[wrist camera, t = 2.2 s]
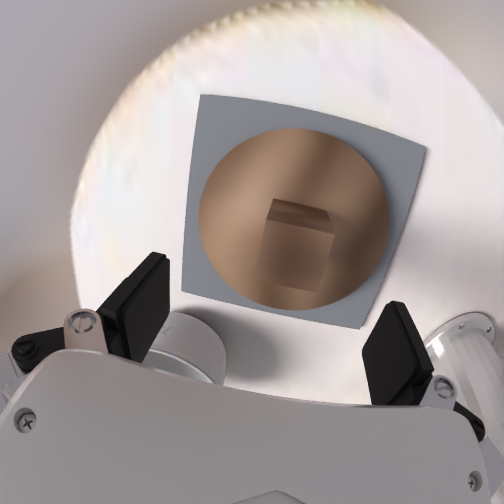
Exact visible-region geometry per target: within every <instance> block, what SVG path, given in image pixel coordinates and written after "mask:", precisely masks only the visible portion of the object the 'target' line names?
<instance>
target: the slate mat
mask: <svg viewBox="0 0 504 504" xmlns="http://www.w3.org/2000/svg"><path fill="white" fill-rule="evenodd" d="M286 128H300V129H308V130H314V131H318V132H321V133H325V134H328V135H330V136H332V137H335V138H337V139H339V140H341V141H343V142H344V143H346V144H347V145H349V146H350V147H352V148H353V149H354V150H356V151H357V152H358V153H359V154H360V155H361V156H362V157H363V158H364V159H365V160H366V161H367V162H368V163H369V165H370V166H371V167H372V168H373V170H374V171H375V173H376V175H377V176H378V178H379V180H380V182H381V184H382V186H383V189H384V191H385V195H386V198H387V202H388V208H389V233H388V240H387V243H386V246H385V250H384V252H383V255H382V257H381V259H380V261H379V263H378V265H377V266H376V268H375V270H374V271H373V272H372V274H371V275H370V276H369V277H368V279H367V280H366V281H365V282H364V283H363V284H362V285H361V286H360V287H359V288H357V289H356V290H355V291H353V292H352V293H351V294H349V295H348V296H346V297H344V298H342V299H341V300H339V301H336V302H334V303H332V304H330V305H326V306H323V307H320V308H315V309H309V310H297V311H296V310H282V309H275V308H271V307H268V306H264V305H261V304H259V303H256V302H254V301H252V300H250V299H248V298H246V297H244V296H243V295H241V294H240V293H238V292H237V291H235V290H234V289H233V288H232V287H230V286H229V285H228V284H227V283H226V282H225V281H224V280H223V279H222V278H221V277H220V276H219V274H218V273H217V272H216V270H215V269H214V267H213V266H212V264H211V263H210V261H209V259H208V257H207V255H206V253H205V250H204V247H203V245H202V241H201V237H200V232H199V223H198V218H199V205H200V200H201V196H202V192H203V189H204V186H205V184H206V182H207V180H208V178H209V176H210V174H211V173H212V171H213V170H214V168H215V167H216V165H217V164H218V163H219V162H220V161H221V159H222V158H223V157H224V156H225V155H226V154H227V153H228V152H230V151H231V150H232V149H233V148H235V147H236V146H237V145H239V144H240V143H242V142H244V141H245V140H247V139H249V138H251V137H254V136H256V135H258V134H261V133H265V132H268V131H272V130H278V129H286ZM425 149H426V147H424V146H422V145H420V144H417V143H415V142H412V141H410V140H407V139H405V138H402V137H399V136H396V135H394V134H391V133H388V132H385V131H382V130H379V129H376V128H373V127H370V126H367V125H364V124H361V123H357V122H354V121H351V120H347V119H343V118H340V117H336V116H332V115H328V114H324V113H320V112H316V111H312V110H307V109H303V108H298V107H293V106H288V105H282V104H277V103H271V102H265V101H258V100H252V99H244V98H236V97H227V96H216V95H204V94H201V95H200V101H199V107H198V114H197V120H196V127H195V134H194V141H193V149H192V157H191V166H190V174H189V184H188V194H187V205H186V217H185V230H184V245H183V263H182V287H181V291H183V292H187V293H191V294H195V295H198V296H202V297H206V298H210V299H214V300H218V301H222V302H226V303H231V304H235V305H239V306H243V307H248V308H252V309H256V310H261V311H265V312H270V313H275V314H279V315H284V316H289V317H294V318H299V319H304V320H309V321H314V322H319V323H325V324H330V325H336V326H341V327H347V328H353V329H359V330H360V328H361V326H362V324H363V322H364V320H365V318H366V316H367V314H368V312H369V310H370V308H371V305H372V303H373V301H374V299H375V297H376V294H377V292H378V290H379V288H380V285H381V283H382V281H383V278H384V276H385V274H386V271H387V269H388V266H389V264H390V261H391V259H392V256H393V254H394V251H395V248H396V246H397V243H398V240H399V238H400V235H401V232H402V229H403V226H404V223H405V220H406V217H407V214H408V211H409V208H410V205H411V201H412V198H413V195H414V191H415V188H416V184H417V181H418V177H419V173H420V169H421V166H422V161H423V157H424V153H425Z"/></svg>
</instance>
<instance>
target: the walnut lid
mask: <svg viewBox="0 0 504 504" xmlns="http://www.w3.org/2000/svg"><path fill="white" fill-rule="evenodd" d="M198 223H199V232H200V237H201V241H202V245H203V247H204V250H205V253H206V255H207V257H208V259H209V261H210V263H211V264H212V266H213V267H214V269H215V270H216V272H217V273H218V274H219V276H220V277H221V278H222V279H223V280H224V281H225V282H226V283H227V284H228V285H229V286H230V287H232V288H233V289H234V290H235V291H237V292H238V293H240V294H241V295H243V296H244V297H246V298H248V299H250V300H252V301H254V302H256V303H259V304H261V305H264V306H268V307H271V308H275V309H282V310H296V311H297V310H309V309H315V308H320V307H323V306H326V305H330V304H332V303H334V302H336V301H339V300H341V299H342V298H344V297H346V296H348V295H349V294H351V293H352V292H353V291H355V290H356V289H357V288H359V287H360V286H361V285H362V284H363V283H364V282H365V281H366V280H367V279H368V277H369V276H370V275H371V274H372V272H373V271H374V270H375V268H376V266H377V265H378V263H379V261H380V259H381V257H382V255H383V252H384V250H385V246H386V243H387V240H388V233H389V208H388V202H387V198H386V195H385V191H384V189H383V186H382V184H381V182H380V180H379V178H378V176H377V175H376V173H375V171H374V170H373V168H372V167H371V166H370V165H369V163H368V162H367V161H366V160H365V159H364V158H363V157H362V156H361V155H360V154H359V153H358V152H357V151H356V150H354V149H353V148H352V147H350V146H349V145H347V144H346V143H344V142H343V141H341V140H339V139H337V138H335V137H332V136H330V135H328V134H325V133H321V132H318V131H314V130H308V129H300V128H286V129H278V130H272V131H268V132H265V133H261V134H258V135H256V136H254V137H251V138H249V139H247V140H245V141H244V142H242V143H240V144H239V145H237V146H236V147H235V148H233V149H232V150H231V151H230V152H228V153H227V154H226V155H225V156H224V157H223V158H222V159H221V161H220V162H219V163H218V164H217V165H216V167H215V168H214V170H213V171H212V173H211V174H210V176H209V178H208V180H207V182H206V184H205V186H204V189H203V192H202V196H201V200H200V205H199V218H198Z"/></svg>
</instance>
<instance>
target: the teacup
mask: <svg viewBox="0 0 504 504" xmlns="http://www.w3.org/2000/svg"><path fill="white" fill-rule="evenodd" d="M226 363H227V356H226V350H225V347H224V344H223V342H222V341H221V339H220V337H219V336H218V335H217V333H216V332H215V331H214V330H213V329H212V328H211V327H209V326H208V325H207V324H206V323H204V322H202V321H201V320H199V319H197V318H195V317H193V316H190V315H187V314H184V313H179V312H169V315H168V318H167V319H166V321H165V323H164V325H163V326H162V328H161V330H160V332H159V333H158V335H157V337H156V339H155V340H154V342H153V344H152V346H151V347H150V349H149V351H148V353H147V355H146V356H145V358H144V360H143V362H142V364H145V365H148V366H151V367H154V368H157V369H161V370H164V371H168V372H171V373H175V374H178V375H182V376H185V377H189V378H193V379H196V380H200V381H204V382H208V383H212V384H217V385H221V386H223V383H224V378H225V372H226Z"/></svg>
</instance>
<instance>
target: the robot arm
mask: <svg viewBox="0 0 504 504" xmlns="http://www.w3.org/2000/svg"><path fill="white" fill-rule="evenodd" d="M169 312H170V260H169V259H167V258H166V255H165V254H161V253H157V252H151V253H150V254H149V255H148V256H147V258H146V259H145V260H144V261H143V262H142V263H141V264H140V265H139V266H138V267H137V268H136V269H135V270H134V271H133V272H132V273H131V274H130V276H129V277H127V278H125V279H124V280H123V281H122V283H121V284H120V285H119V286H118V287H117V288H116V289H115V290H114V291H113V292H112V294H111V295H110V296H109V297H108V298H107V299H106V300H105V301H104V303H103V304H102V305H101V306H100V307H99V308H98V309H97V311H96V312H95V311H93V310H91V309H78V310H75V311H73V312H71V313H70V314H69V315H68V316H67V317H66V318H65V320H64V327H60V328H56V329H51V330H47V331H42V332H37V333H33V334H28V335H24V336H22V337H20V338H18V339H17V340H16V341H15V342H14V344H13V346H12V350H11V352H8V351H7V350H5V351H3V352H1V353H0V504H504V365H503V363H504V357H503V356H498V355H497V353H496V351H495V349H494V348H493V346H492V344H493V340H494V335H495V330H494V326H493V324H492V322H491V321H490V319H489V318H488V317H487V316H485V315H484V314H481V313H469V314H465V315H461V316H459V317H457V318H454V319H452V320H451V321H449V322H447V323H445V324H444V325H443V326H441V327H440V328H438V329H437V330H436V331H435V332H434V333H432V334H431V335H430V336H429V337H428V338H427V339H426V340H425V341H424V343H423V341H422V339H421V337H420V335H419V332H418V330H417V328H416V326H415V324H414V322H413V320H412V318H411V316H410V314H409V312H408V310H407V308H406V306H405V304H404V303H402V302H397V301H391V302H390V303H388V304H386V305H385V307H384V309H383V311H382V313H381V315H380V317H379V319H378V321H377V323H376V325H375V327H374V328H373V330H372V332H371V334H370V336H369V338H368V339H367V341H366V343H365V345H364V346H363V349H362V357H363V362H364V367H365V371H366V376H367V381H368V387H369V392H370V397H371V403H372V405H359V404H342V403H329V402H319V401H309V400H301V399H293V398H286V397H279V396H273V395H267V394H261V393H255V392H250V391H245V390H240V389H235V388H230V387H226V386H221V385H217V384H212V383H208V382H204V381H200V380H196V379H193V378H189V377H185V376H182V375H178V374H175V373H171V372H168V371H164V370H161V369H157V368H154V367H151V366H148V365H145V364H142V362H143V360H144V358H145V356H146V355H147V353H148V351H149V349H150V347H151V346H152V344H153V342H154V340H155V339H156V337H157V335H158V333H159V332H160V330H161V328H162V326H163V325H164V323H165V321H166V319H167V318H168V315H169Z"/></svg>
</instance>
